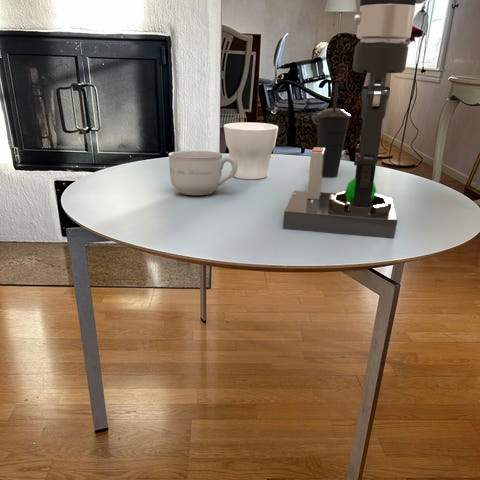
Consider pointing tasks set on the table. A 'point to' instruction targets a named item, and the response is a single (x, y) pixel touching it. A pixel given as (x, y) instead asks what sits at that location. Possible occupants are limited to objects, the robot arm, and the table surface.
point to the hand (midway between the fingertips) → (361, 200)
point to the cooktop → (334, 218)
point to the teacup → (198, 171)
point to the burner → (375, 209)
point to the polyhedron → (351, 189)
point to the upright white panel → (315, 173)
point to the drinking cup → (332, 136)
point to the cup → (251, 147)
